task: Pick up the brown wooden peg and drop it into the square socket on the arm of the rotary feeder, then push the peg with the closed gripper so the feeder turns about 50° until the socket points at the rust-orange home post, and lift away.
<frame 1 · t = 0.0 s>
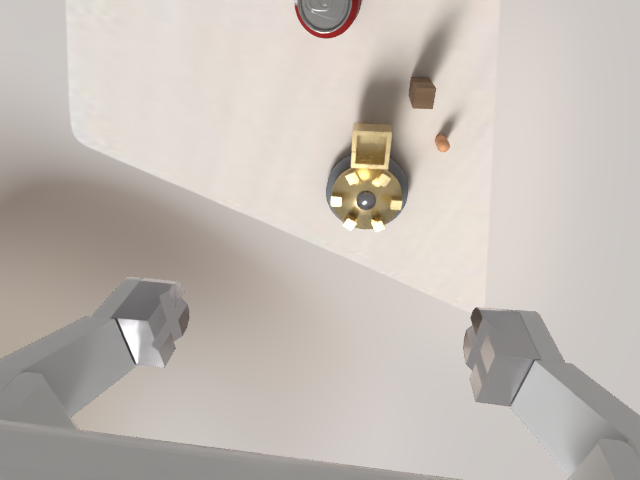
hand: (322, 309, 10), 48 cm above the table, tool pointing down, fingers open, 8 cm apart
brown wooden peg: (418, 86, 51), on the table
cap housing: (366, 188, 60), on the table
soda can: (334, 0, 47), on the table
rotary feeder: (367, 183, 55), point 5 cm above the table, hinge at 0.0°
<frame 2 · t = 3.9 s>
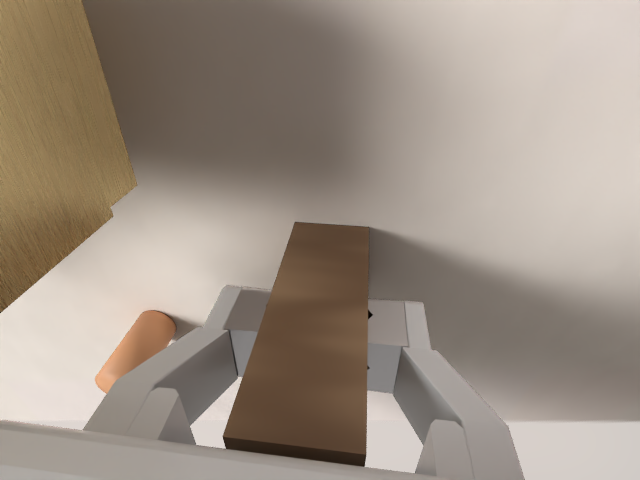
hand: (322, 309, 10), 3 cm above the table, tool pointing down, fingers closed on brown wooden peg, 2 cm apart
brown wooden peg: (330, 254, 12), on the table, touching gripper
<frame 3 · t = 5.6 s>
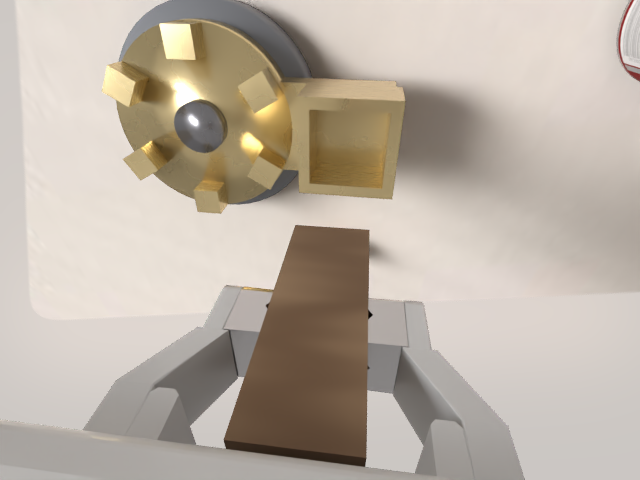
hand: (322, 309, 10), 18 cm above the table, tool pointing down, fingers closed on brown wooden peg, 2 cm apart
brown wooden peg: (331, 257, 13), point 15 cm above the table, touching gripper
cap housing: (225, 108, 25), on the table
rotary feeder: (248, 131, 21), point 5 cm above the table, hinge at 0.0°
when the fingers open (8 cm above the table, at t = 7.6 s): brown wooden peg drops 2 cm, resting on rotary feeder.
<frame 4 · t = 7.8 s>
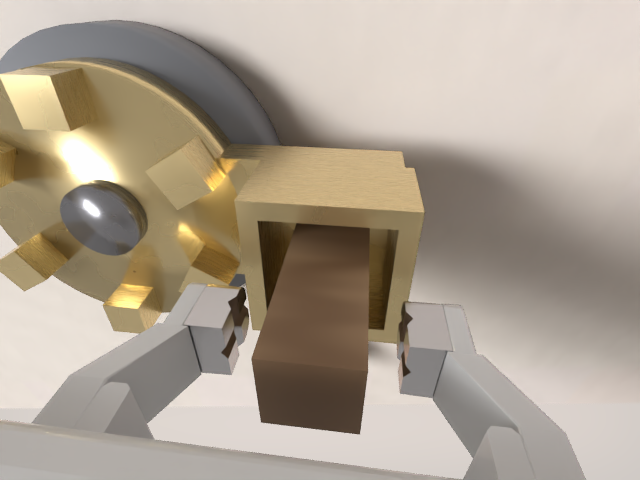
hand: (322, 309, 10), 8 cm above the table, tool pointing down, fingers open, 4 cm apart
brown wooden peg: (335, 231, 14), point 4 cm above the table, touching rotary feeder
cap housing: (157, 175, 18), on the table
rotary feeder: (175, 228, 14), point 5 cm above the table, hinge at 0.0°, touching brown wooden peg
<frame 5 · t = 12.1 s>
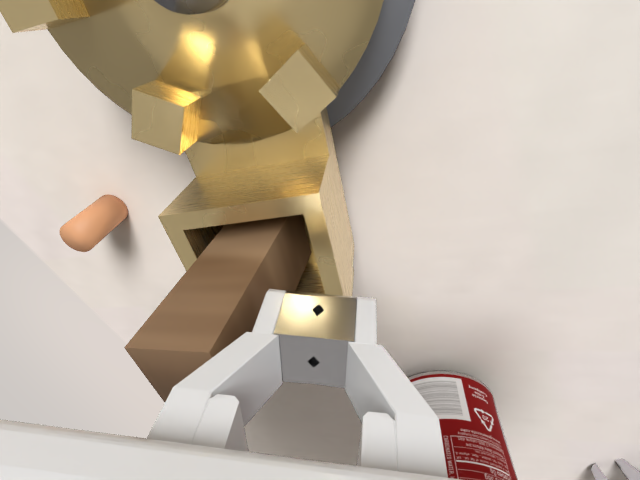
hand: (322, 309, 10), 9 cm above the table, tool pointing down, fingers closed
brown wooden peg: (276, 229, 15), point 4 cm above the table, tilted 7°, touching rotary feeder
soda can: (438, 390, 26), on the table
rotary feeder: (220, 72, 11), point 5 cm above the table, hinge at 0.0°, touching brown wooden peg
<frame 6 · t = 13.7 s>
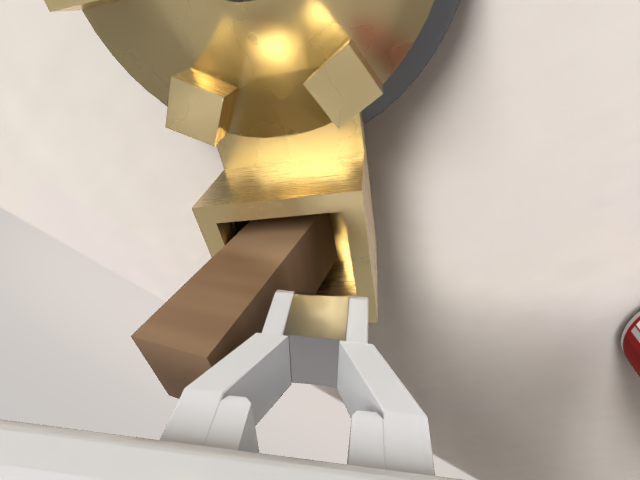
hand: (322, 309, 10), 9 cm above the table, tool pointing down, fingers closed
brown wooden peg: (304, 229, 14), point 4 cm above the table, tilted 17°, touching gripper, rotary feeder
rotary feeder: (262, 63, 11), point 5 cm above the table, hinge at 30.6°, touching brown wooden peg
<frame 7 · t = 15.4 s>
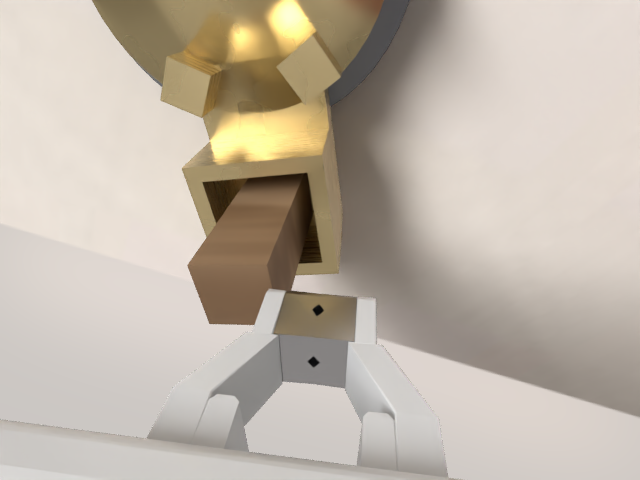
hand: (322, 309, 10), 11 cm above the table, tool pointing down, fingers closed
brown wooden peg: (284, 193, 17), point 4 cm above the table, touching rotary feeder
rotary feeder: (243, 48, 13), point 5 cm above the table, hinge at 52.3°, touching brown wooden peg
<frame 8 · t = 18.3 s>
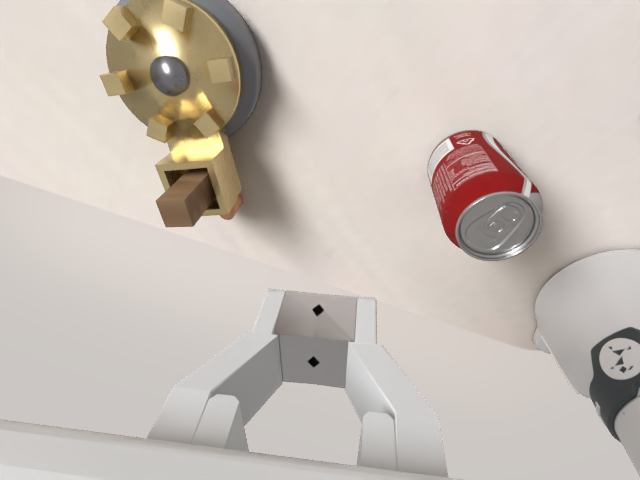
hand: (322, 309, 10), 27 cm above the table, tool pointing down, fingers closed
brown wooden peg: (207, 177, 35), point 4 cm above the table, touching rotary feeder
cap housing: (191, 67, 33), on the table
soda can: (462, 161, 35), on the table
rotary feeder: (181, 115, 31), point 5 cm above the table, hinge at 52.3°, touching brown wooden peg
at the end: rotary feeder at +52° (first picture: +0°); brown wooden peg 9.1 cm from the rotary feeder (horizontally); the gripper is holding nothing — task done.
